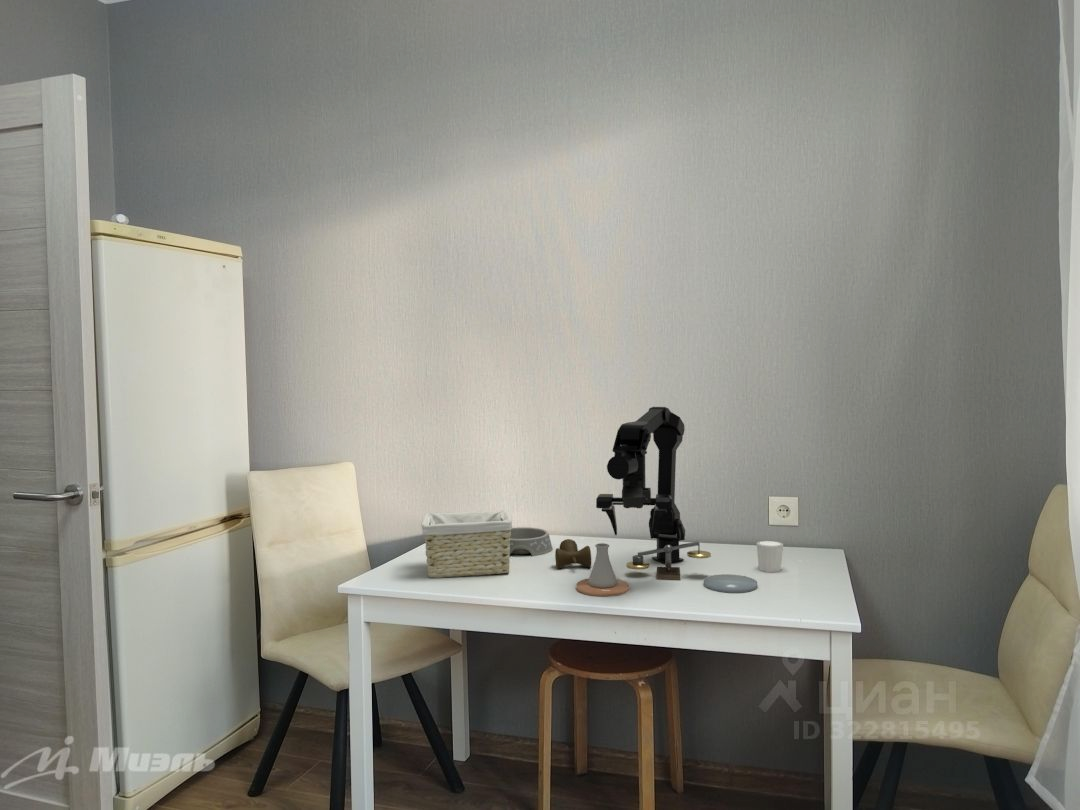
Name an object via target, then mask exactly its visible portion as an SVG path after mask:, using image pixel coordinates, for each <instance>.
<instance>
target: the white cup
mask: <svg viewBox="0 0 1080 810" xmlns="http://www.w3.org/2000/svg"><path fill="white" fill-rule="evenodd" d="M783 551H784V543H783V542H780V541H777V540H776V541H775V540H760V541H757V542H756V553H757V562H758V569H759V570H760V571H761V572H766V573H767V572H768V573H776V572H781V570H782V561H783Z"/></svg>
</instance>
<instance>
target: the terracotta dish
mask: <svg viewBox="0 0 1080 810" xmlns="http://www.w3.org/2000/svg"><path fill="white" fill-rule="evenodd" d="M588 579H589V578H584V579H582V580H581V579H580V580H578V581H577V583H576V585H575V586H576V588H575V589H576V592H578V593H580V594H582V595H586V596H591V597H615V596H621V595H623V594H626V593H628V592H629V591H630V583H629V582H627V581H626V580H623V579H619V578H616V579H617V582H618V584H617V585H615V586H613V587H606V588H599V587H593V586H591V585H589V584H587V582H588Z"/></svg>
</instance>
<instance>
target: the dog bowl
mask: <svg viewBox="0 0 1080 810" xmlns="http://www.w3.org/2000/svg"><path fill="white" fill-rule="evenodd" d="M552 551H553V546H552V541H551V538H550V534H549V532H548V530H545V529H543V528H539V527H530V526H529V527H527V526H526V527H525V526H524V527H523V526H522V527H520V526H517V527H512V529H511V537H510V555H511V554H513V555H514V554H516V555H519V554H520V555H524V554H525V555H526V554H527V555H528V554H531V556H532V557H539V556H542V555H543V556H544V555H547V554H549V553H551V552H552Z"/></svg>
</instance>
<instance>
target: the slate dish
mask: <svg viewBox="0 0 1080 810" xmlns="http://www.w3.org/2000/svg"><path fill="white" fill-rule="evenodd" d="M703 587H705V588H706V589H708V590H710V591H714V592H720V593H727V594H744V593H751V592H754V591H755V590H757V589H758V581H757V580H756V579H755V578H752V577H749V576H745V575H740V574H713V575H709V576H706V577H704V579H703Z"/></svg>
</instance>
